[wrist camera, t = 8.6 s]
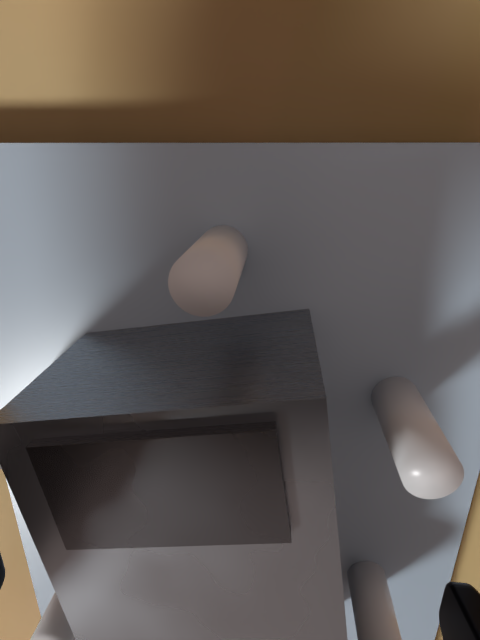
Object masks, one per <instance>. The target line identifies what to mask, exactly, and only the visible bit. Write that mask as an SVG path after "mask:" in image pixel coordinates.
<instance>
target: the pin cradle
mask: <svg viewBox="0 0 480 640" xmlns="http://www.w3.org/2000/svg"><path fill="white" fill-rule="evenodd" d="M301 309H309V310H310V315H311V320H312V325H313V331H314V336H315V341H316V346H317V352H318V357H319V362H320V367H321V373H322V378H323V383H324V388H325V394H326V400H327V411H328V423H329V434H330V445H331V457H332V468H333V479H334V491H335V502H336V513H337V525H338V536H339V548H340V559H341V570H342V582H343V593H344V604H345V616H346V627H347V639H348V640H435V637H436V633H437V629H438V626H439V609H440V605H441V601H442V597H443V593H444V589H445V586H446V584H447V583H448V582H450V580H451V577H452V573H453V569H454V565H455V561H456V558H457V554H458V550H459V546H460V543H461V539H462V535H463V531H464V527H465V524H466V520H467V516H468V512H469V509H470V505H471V501H472V497H473V493H474V490H475V486H476V482H477V478H478V475H479V471H480V143H0V410H1V409H2V408H3V407H4V406H5V405H6V404H7V403H9V402H10V401H11V400H12V399H13V398H14V397H15V396H16V395H17V394H19V393H20V392H21V391H22V390H23V389H24V388H25V387H26V386H28V385H29V384H30V383H31V382H32V381H33V380H34V379H35V378H36V377H38V376H39V375H40V374H41V373H42V372H43V371H44V370H45V369H47V368H48V367H49V366H50V365H51V364H52V363H53V362H54V361H55V360H57V359H58V358H59V357H60V356H61V355H62V354H63V353H64V352H66V351H67V350H68V349H69V348H70V347H71V346H72V345H73V344H74V343H76V342H77V341H78V340H79V339H80V338H81V337H82V336H83V335H85V334H86V333H89V332H99V331H108V330H117V329H126V328H136V327H145V326H154V325H163V324H172V323H182V322H191V321H200V320H209V319H219V318H228V317H237V316H246V315H255V314H265V313H274V312H283V311H292V310H301ZM0 469H2V468H1V465H0ZM6 481H7V479H6ZM7 485H8V488H9V492H10V496H11V500H12V504H13V508H14V512H15V516H16V520H17V524H18V528H19V532H20V535H21V539H22V543H23V547H24V551H25V555H26V559H27V563H28V567H29V571H30V575H31V579H32V583H33V586H34V590H35V594H36V598H37V602H38V606H39V610H40V614H41V620H40V622H39V624H38V626H37V628H36V630H35V632H34V633H33V635H32V637H31V640H76V639H75V637H74V634H73V632H72V630H71V628H70V625H69V623H68V621H67V618H66V616H65V614H64V611H63V609H62V607H61V604H60V602H59V600H58V597H57V595H56V593H55V590H54V588H53V586H52V583H51V581H50V579H49V577H48V574H47V572H46V570H45V567H44V565H43V563H42V560H41V558H40V556H39V553H38V551H37V549H36V546H35V544H34V542H33V539H32V537H31V535H30V532H29V530H28V528H27V525H26V523H25V521H24V519H23V516H22V514H21V512H20V509H19V507H18V505H17V502H16V500H15V498H14V495H13V493H12V491H11V488H10V486H9V484H8V481H7Z"/></svg>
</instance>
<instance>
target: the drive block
mask: <svg viewBox="0 0 480 640" xmlns="http://www.w3.org/2000/svg"><path fill="white" fill-rule="evenodd" d="M0 465H1V468H2V470H3V472H4V474H5V477H6V479H7V481H8V484H9V486H10V488H11V491H12V493H13V495H14V498H15V500H16V502H17V505H18V507H19V509H20V512H21V514H22V516H23V519H24V521H25V523H26V525H27V528H28V530H29V532H30V535H31V537H32V539H33V542H34V544H35V546H36V549H37V551H38V553H39V556H40V558H41V560H42V563H43V565H44V567H45V570H46V572H47V574H48V577H49V579H50V581H51V583H52V586H53V588H54V590H55V593H56V595H57V597H58V600H59V602H60V604H61V607H62V609H63V611H64V614H65V616H66V618H67V621H68V623H69V625H70V628H71V630H72V632H73V634H74V637H75V639H76V640H348V639H347V627H346V616H345V604H344V593H343V582H342V570H341V559H340V548H339V536H338V525H337V513H336V502H335V491H334V479H333V468H332V457H331V445H330V434H329V423H328V411H327V400H326V394H325V388H324V383H323V378H322V373H321V367H320V362H319V357H318V352H317V346H316V341H315V336H314V331H313V325H312V320H311V315H310V310H309V309H301V310H292V311H283V312H274V313H265V314H255V315H246V316H237V317H228V318H219V319H209V320H200V321H191V322H182V323H172V324H163V325H154V326H145V327H136V328H126V329H117V330H108V331H99V332H89V333H86V334H85V335H83V336H82V337H81V338H80V339H79V340H78V341H77V342H76V343H74V344H73V345H72V346H71V347H70V348H69V349H68V350H67V351H66V352H64V353H63V354H62V355H61V356H60V357H59V358H58V359H57V360H55V361H54V362H53V363H52V364H51V365H50V366H49V367H48V368H47V369H45V370H44V371H43V372H42V373H41V374H40V375H39V376H38V377H36V378H35V379H34V380H33V381H32V382H31V383H30V384H29V385H28V386H26V387H25V388H24V389H23V390H22V391H21V392H20V393H19V394H17V395H16V396H15V397H14V398H13V399H12V400H11V401H10V402H9V403H7V404H6V405H5V406H4V407H3V408H2V409H1V410H0Z"/></svg>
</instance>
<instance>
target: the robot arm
mask: <svg viewBox="0 0 480 640" xmlns="http://www.w3.org/2000/svg"><path fill="white" fill-rule="evenodd" d="M4 578H5V568H4V564H3V560H2V557H1V553H0V589H1V586H2V584H3V581H4ZM439 622H440V627H441V632H442V636H443V640H480V593H479V592H478V591H477V590H476V589H475V588H474V587H473V586H471V585H470V584H467V583H458V582H448V583H447V584H446V586H445V589H444V593H443V597H442V601H441V605H440V609H439Z"/></svg>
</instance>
